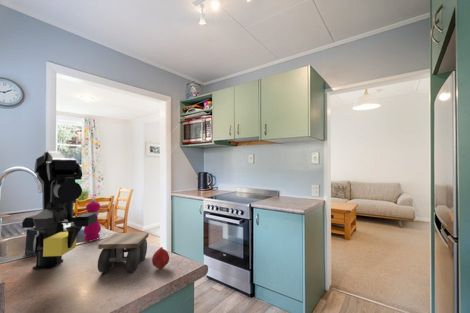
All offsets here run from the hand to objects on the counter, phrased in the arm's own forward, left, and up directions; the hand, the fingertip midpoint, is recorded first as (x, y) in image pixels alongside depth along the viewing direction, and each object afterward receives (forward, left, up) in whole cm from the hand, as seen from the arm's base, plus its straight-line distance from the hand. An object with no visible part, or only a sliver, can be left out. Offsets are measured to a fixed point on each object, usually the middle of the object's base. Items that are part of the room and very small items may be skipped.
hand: (60, 248), depth 68 cm
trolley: (+15, +12, -11) cm, 22 cm away
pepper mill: (-13, +42, -11) cm, 45 cm away
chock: (0, 0, -1) cm, 1 cm away
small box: (-25, +28, -11) cm, 39 cm away
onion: (+29, +8, -11) cm, 32 cm away
